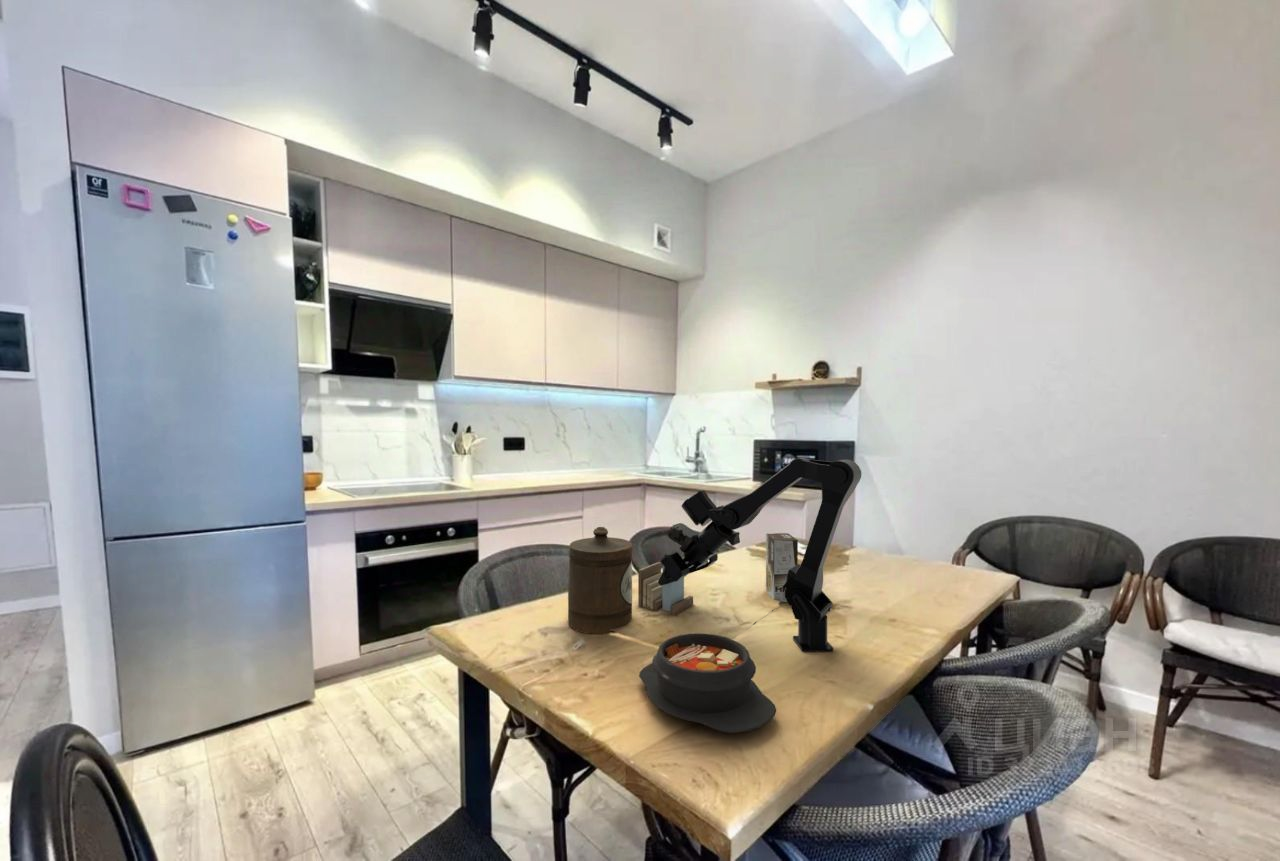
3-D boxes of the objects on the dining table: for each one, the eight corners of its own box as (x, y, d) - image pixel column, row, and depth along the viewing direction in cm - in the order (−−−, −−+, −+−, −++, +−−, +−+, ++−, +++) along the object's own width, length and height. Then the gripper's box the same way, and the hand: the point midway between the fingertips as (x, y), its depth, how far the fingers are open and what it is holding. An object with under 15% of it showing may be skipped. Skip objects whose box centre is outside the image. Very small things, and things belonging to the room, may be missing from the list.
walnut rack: (694, 607, 126) (694, 568, 126) (675, 619, 119) (675, 577, 119) (658, 599, 133) (658, 561, 133) (638, 609, 126) (638, 569, 126)
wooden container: (641, 628, 114) (641, 530, 113) (577, 639, 108) (577, 536, 108) (619, 606, 127) (619, 519, 127) (561, 614, 122) (561, 523, 122)
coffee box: (798, 602, 130) (798, 540, 130) (773, 602, 130) (773, 539, 130) (788, 591, 139) (789, 532, 139) (765, 590, 140) (765, 532, 139)
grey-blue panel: (684, 604, 127) (684, 558, 126) (671, 611, 122) (671, 564, 122) (675, 602, 128) (675, 557, 128) (662, 609, 123) (662, 562, 123)
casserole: (614, 687, 88) (614, 639, 88) (693, 658, 99) (693, 615, 99) (718, 764, 68) (718, 702, 68) (802, 716, 79) (802, 663, 79)
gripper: (707, 508, 130) (670, 545, 136) (667, 519, 115) (628, 560, 121) (735, 543, 125) (695, 580, 132) (698, 560, 110) (655, 600, 117)
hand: (669, 579), depth 125 cm, fingers open, 9 cm apart
